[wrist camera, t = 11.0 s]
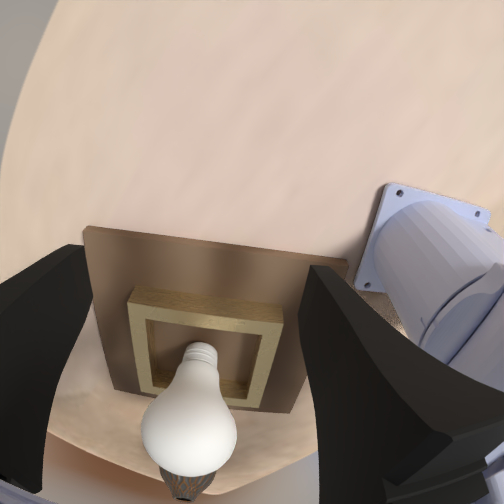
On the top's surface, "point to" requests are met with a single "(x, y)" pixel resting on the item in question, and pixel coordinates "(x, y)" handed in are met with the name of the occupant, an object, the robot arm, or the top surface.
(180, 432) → the white light bulb
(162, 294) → the socket collar
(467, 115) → the top surface
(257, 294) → the lamp base
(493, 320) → the robot arm
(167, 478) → the vase
